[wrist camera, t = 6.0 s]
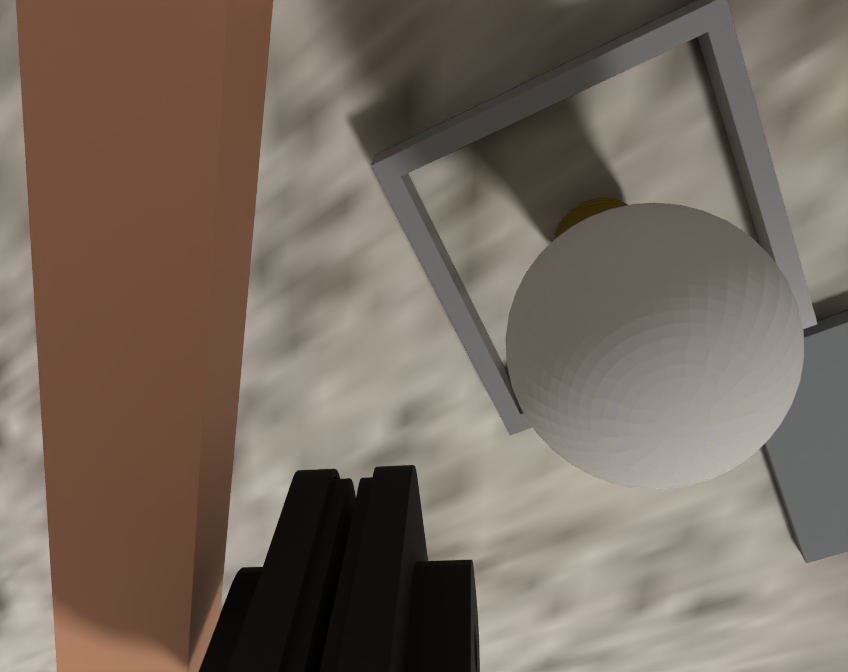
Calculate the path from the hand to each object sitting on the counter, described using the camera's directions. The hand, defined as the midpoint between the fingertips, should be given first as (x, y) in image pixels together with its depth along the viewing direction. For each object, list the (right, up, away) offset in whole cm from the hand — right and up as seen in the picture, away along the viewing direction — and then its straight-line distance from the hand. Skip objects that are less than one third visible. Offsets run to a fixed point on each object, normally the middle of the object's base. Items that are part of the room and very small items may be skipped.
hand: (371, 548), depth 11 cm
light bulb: (+6, +6, +11) cm, 14 cm away
